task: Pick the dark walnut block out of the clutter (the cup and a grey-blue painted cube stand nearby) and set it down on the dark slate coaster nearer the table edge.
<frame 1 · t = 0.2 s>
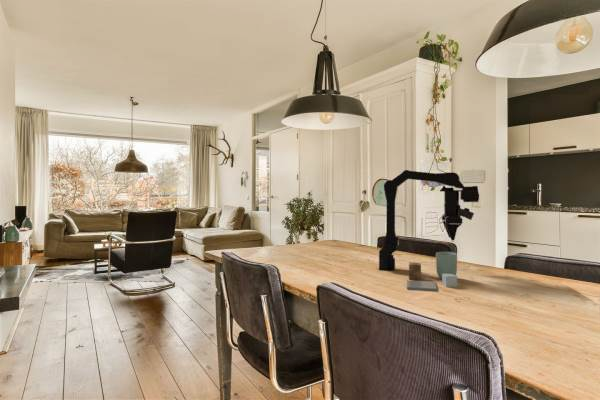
hand: (451, 238, 155), 14 cm above the table, fingers open, 9 cm apart
walnut block: (415, 278, 145), on the table
cup: (446, 278, 144), on the table
coaster: (421, 286, 133), on the table
painted cube: (449, 285, 134), on the table
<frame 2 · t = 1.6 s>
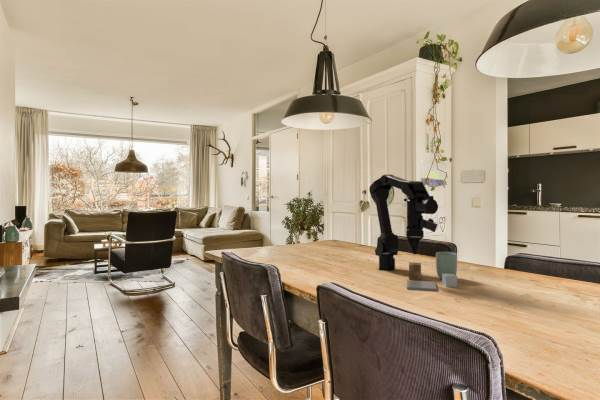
hand: (414, 252, 145), 11 cm above the table, fingers open, 9 cm apart
nothing on the table moved.
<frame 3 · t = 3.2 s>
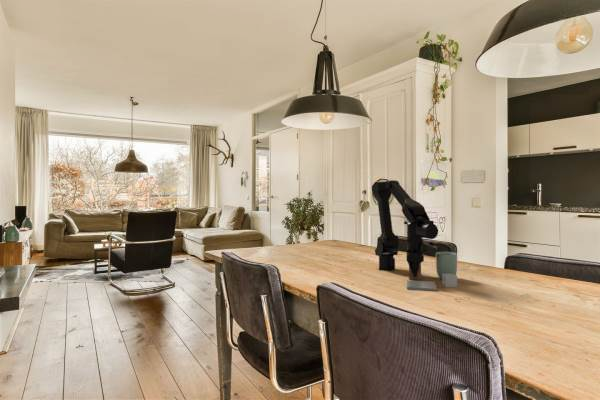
hand: (414, 275, 145), 1 cm above the table, fingers closed on walnut block, 4 cm apart
walnut block: (415, 278, 145), on the table, touching gripper
everything else where it was.
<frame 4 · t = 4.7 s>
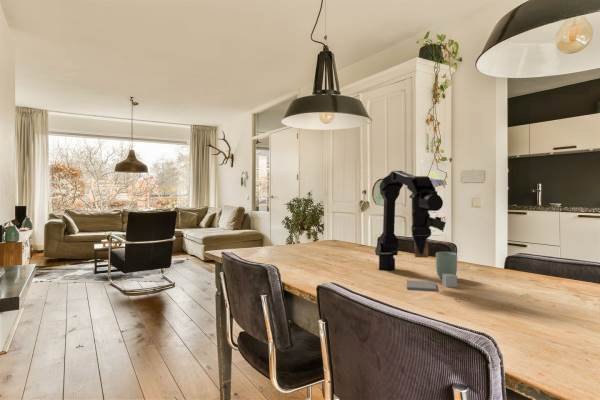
hand: (421, 252, 133), 12 cm above the table, fingers closed on walnut block, 4 cm apart
walnut block: (421, 256, 133), point 11 cm above the table, touching gripper
everything else where it was.
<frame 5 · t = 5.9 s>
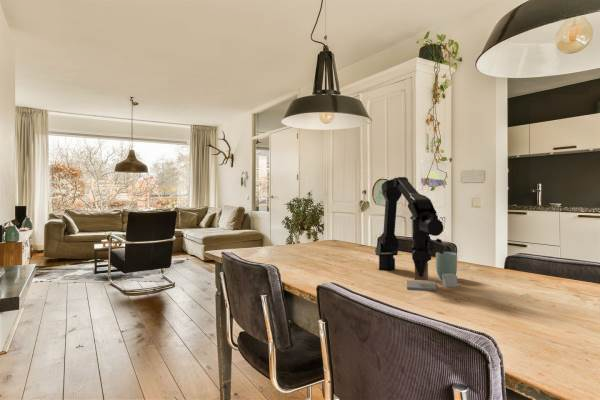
hand: (421, 275, 133), 4 cm above the table, fingers closed on walnut block, 4 cm apart
walnut block: (421, 278, 133), point 3 cm above the table, touching gripper
everything else where it was.
when the fingers open (3 cm above the table, at t = 6.5 s): walnut block stays where it is, resting on coaster.
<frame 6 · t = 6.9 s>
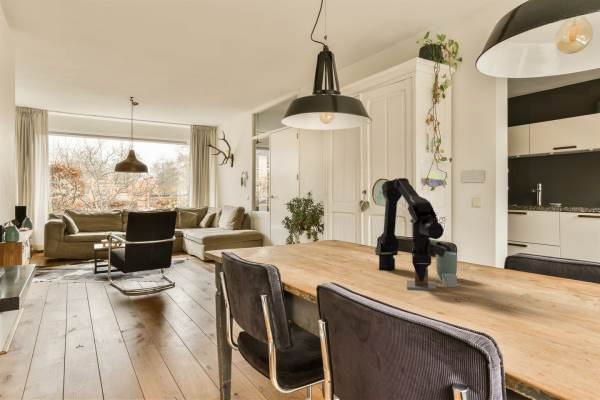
hand: (421, 278, 133), 3 cm above the table, fingers open, 9 cm apart
walnut block: (421, 284, 133), point 1 cm above the table, touching coaster
everything else where it was.
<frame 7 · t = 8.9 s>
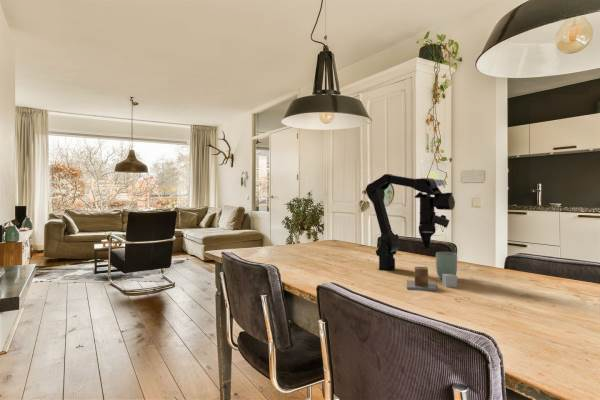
hand: (426, 246, 150), 12 cm above the table, fingers open, 9 cm apart
nothing on the table moved.
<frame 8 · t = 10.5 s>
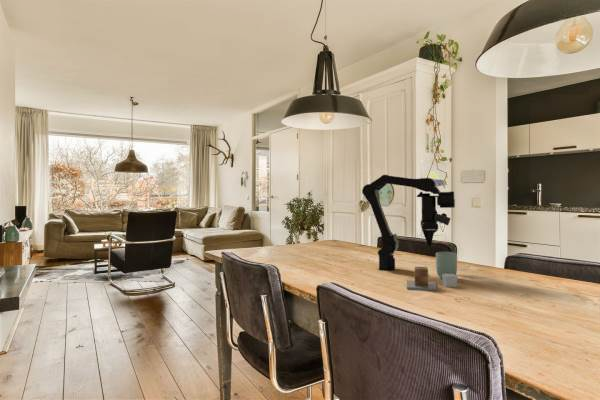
hand: (429, 244, 155), 12 cm above the table, fingers open, 9 cm apart
nothing on the table moved.
at the end: walnut block inside the target area on the coaster (0.0 cm from its centre), point 0.8 cm above the coaster's base; walnut block tilted 0°; the gripper is holding nothing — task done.
